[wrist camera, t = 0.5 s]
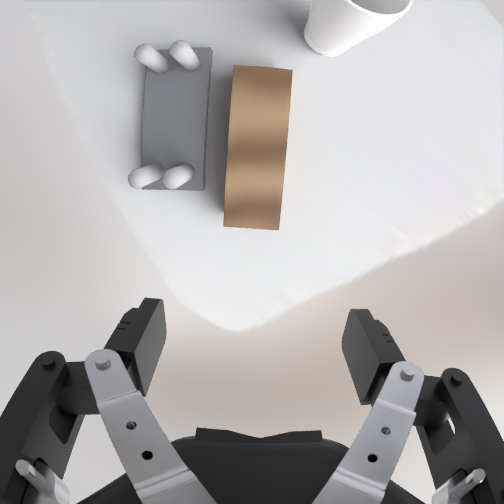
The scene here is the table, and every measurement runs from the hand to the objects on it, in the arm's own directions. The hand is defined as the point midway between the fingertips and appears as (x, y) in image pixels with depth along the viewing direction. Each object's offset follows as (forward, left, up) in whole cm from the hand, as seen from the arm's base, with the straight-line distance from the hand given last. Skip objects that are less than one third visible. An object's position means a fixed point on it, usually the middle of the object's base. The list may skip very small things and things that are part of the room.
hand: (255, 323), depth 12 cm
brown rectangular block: (-7, 0, -23) cm, 24 cm away
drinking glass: (-21, +7, -23) cm, 32 cm away
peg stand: (-10, -9, -23) cm, 26 cm away
